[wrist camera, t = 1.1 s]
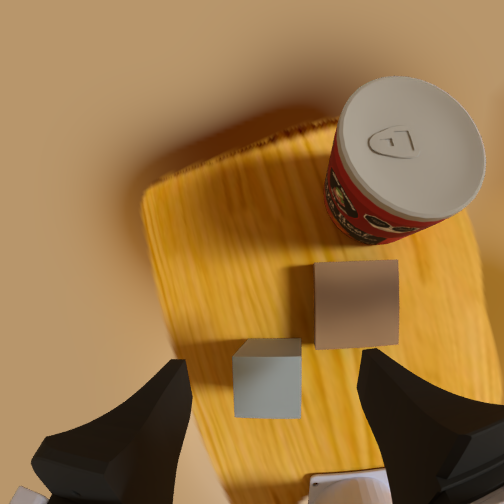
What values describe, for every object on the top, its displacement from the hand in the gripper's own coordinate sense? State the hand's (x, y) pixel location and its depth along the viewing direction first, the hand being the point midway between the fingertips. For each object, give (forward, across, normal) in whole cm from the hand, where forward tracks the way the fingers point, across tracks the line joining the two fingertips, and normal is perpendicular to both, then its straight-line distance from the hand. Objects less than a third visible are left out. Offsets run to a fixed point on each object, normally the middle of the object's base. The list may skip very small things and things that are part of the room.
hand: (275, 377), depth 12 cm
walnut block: (+11, -7, +2) cm, 13 cm away
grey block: (+10, 0, +6) cm, 12 cm away
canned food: (+14, -9, -5) cm, 17 cm away
